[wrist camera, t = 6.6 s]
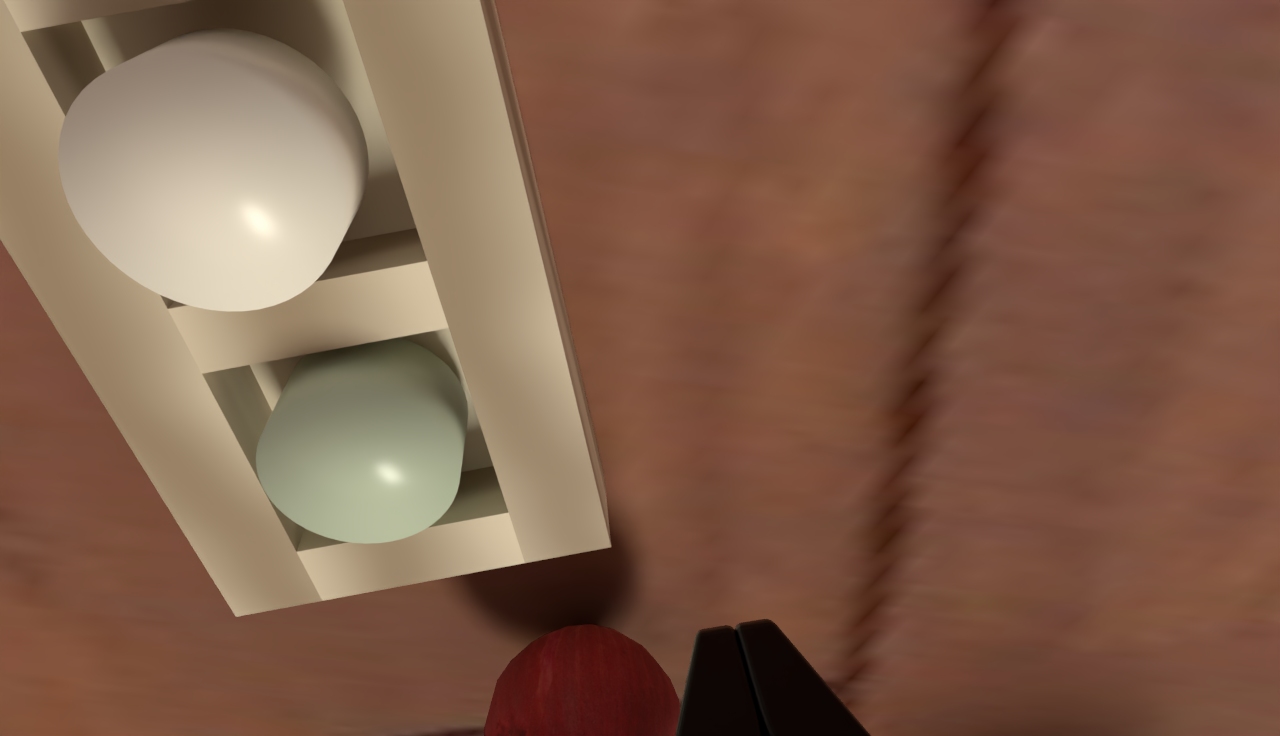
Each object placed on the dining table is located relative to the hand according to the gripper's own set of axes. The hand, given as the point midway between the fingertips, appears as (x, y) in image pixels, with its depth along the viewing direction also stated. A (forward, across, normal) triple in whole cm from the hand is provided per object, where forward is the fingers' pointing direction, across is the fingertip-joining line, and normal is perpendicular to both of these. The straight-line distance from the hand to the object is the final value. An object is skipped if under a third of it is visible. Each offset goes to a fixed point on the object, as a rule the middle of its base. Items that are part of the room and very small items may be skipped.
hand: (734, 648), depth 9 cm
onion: (+13, +4, +14) cm, 20 cm away
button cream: (+10, +7, -4) cm, 13 cm away
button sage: (+11, +7, +3) cm, 14 cm away
